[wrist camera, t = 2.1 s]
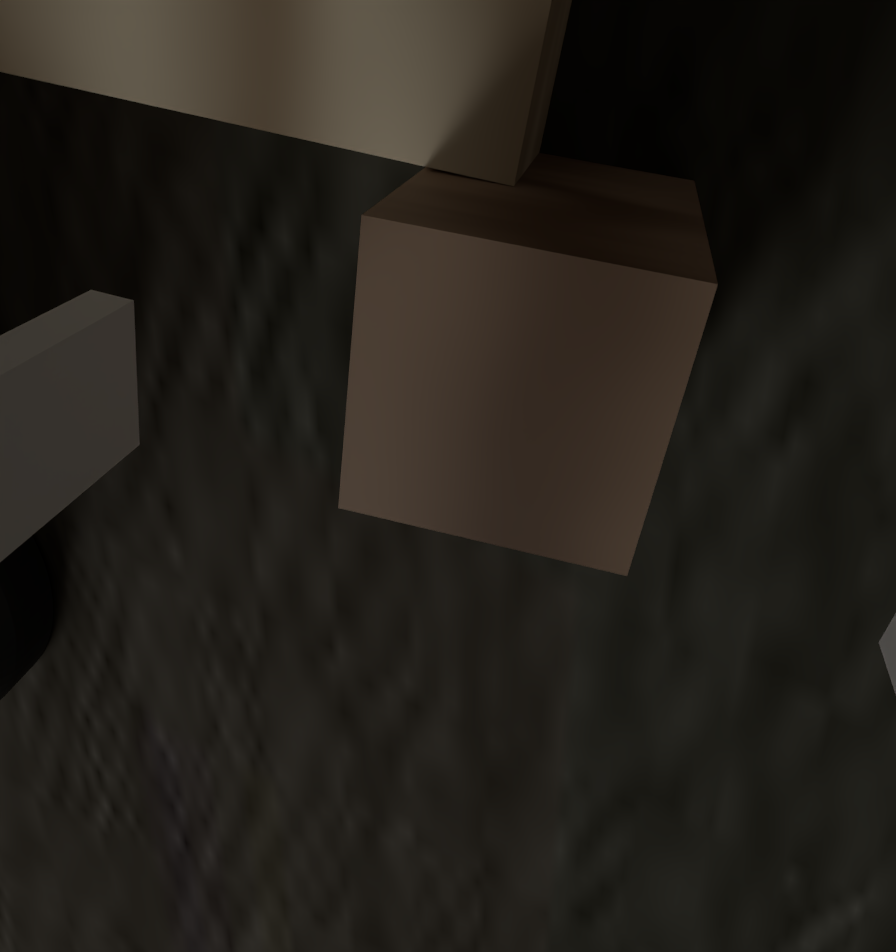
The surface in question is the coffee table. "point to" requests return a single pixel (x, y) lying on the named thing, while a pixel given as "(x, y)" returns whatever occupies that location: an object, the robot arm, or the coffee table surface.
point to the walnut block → (524, 354)
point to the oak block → (317, 69)
